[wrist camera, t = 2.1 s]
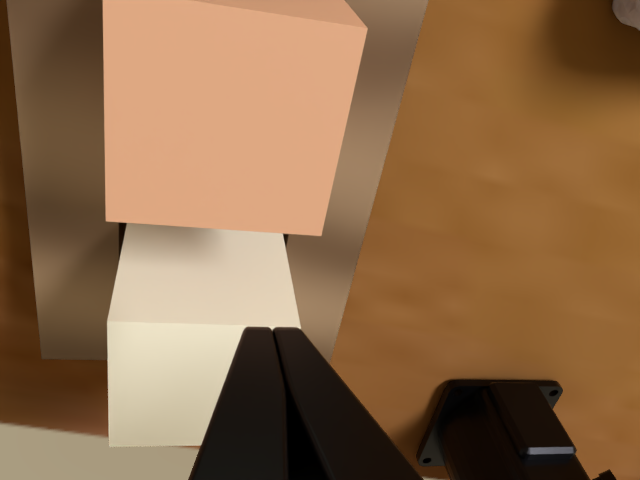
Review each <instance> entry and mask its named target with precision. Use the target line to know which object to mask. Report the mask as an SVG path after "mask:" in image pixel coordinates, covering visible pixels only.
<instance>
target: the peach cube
mask: <svg viewBox="0 0 640 480" xmlns="http://www.w3.org/2000/svg"><path fill="white" fill-rule="evenodd" d="M367 30H368V28H367V27H366V26H365V24H364V23H363V22H362V21H361V20H360V18H359V17H358V16H357V15H356V13H355V12H354V11H353V10H352V9H351V7H350V6H349V5H348V4H347V3H346V1H345V0H103V60H104V132H105V205H106V221H108V222H123V223H137V224H152V225H167V226H181V227H196V228H211V229H225V230H240V231H254V232H269V233H284V234H298V235H313V236H321V235H322V231H323V226H324V222H325V217H326V213H327V208H328V204H329V199H330V195H331V190H332V186H333V181H334V177H335V173H336V168H337V164H338V159H339V155H340V150H341V146H342V141H343V137H344V132H345V128H346V124H347V119H348V115H349V110H350V106H351V101H352V97H353V92H354V88H355V83H356V79H357V74H358V70H359V66H360V61H361V57H362V52H363V48H364V43H365V39H366V34H367Z"/></svg>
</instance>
